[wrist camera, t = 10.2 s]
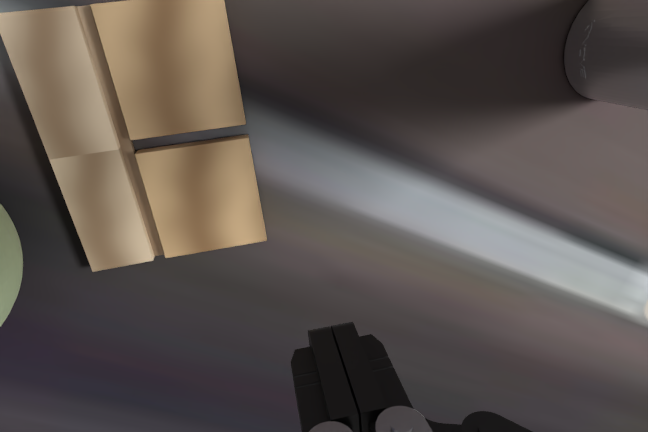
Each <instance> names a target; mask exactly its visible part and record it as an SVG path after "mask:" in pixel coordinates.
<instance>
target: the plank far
mask: <svg viewBox="0 0 648 432" xmlns="http://www.w3.org/2000/svg"><path fill="white" fill-rule="evenodd" d="M135 157H136V160H137V163H138V167H139V170H140V173H141V177H142V180H143V183H144V187H145V190H146V194H147V197H148V200H149V204H150V207H151V210H152V214H153V217H154V220H155V224H156V227H157V230H158V234H159V237H160V240H161V244H162V247H163V251H164V254H165V257H166V258H169V257H175V256H181V255H187V254H192V253H198V252H204V251H210V250H215V249H221V248H227V247H233V246H239V245H244V244H250V243H256V242H262V241H267V238H266V232H265V226H264V220H263V215H262V209H261V204H260V198H259V192H258V187H257V181H256V176H255V170H254V164H253V159H252V153H251V148H250V142H249V136H248V134H246V135H239V136H232V137H225V138H218V139H211V140H204V141H197V142H190V143H183V144H176V145H169V146H162V147H155V148H148V149H141V150H138V151H137V152H136V153H135Z"/></svg>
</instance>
